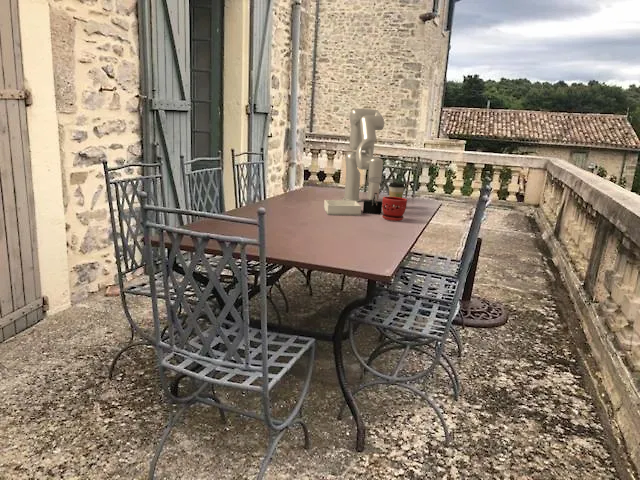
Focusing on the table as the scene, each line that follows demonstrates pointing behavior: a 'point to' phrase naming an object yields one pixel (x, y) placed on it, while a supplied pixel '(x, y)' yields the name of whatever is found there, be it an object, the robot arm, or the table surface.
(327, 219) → the table surface
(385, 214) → the plant pot
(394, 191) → the coffee cup
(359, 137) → the robot arm
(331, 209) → the box
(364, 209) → the digital camera
